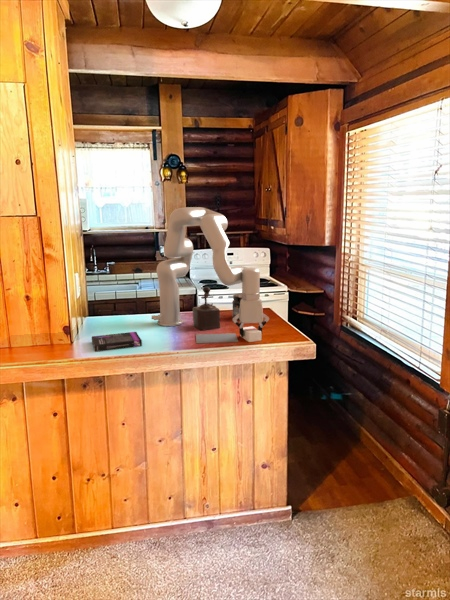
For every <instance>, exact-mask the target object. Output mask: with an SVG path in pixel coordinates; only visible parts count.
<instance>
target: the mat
mask: <svg viewBox="0 0 450 600" xmlns="http://www.w3.org/2000/svg"><path fill="white" fill-rule="evenodd" d="M195 340H196V341H195V342H196V344H197V345H198V344H201V345H202V344H224V343H225V344H227V343H228V344H230V343H239V340H238V337H237V334H236V332H233V333H231V332H229V333H228V332H227V333H206V334H205V333H204V334H203V333H202V334H199V333H198V334H195Z"/></svg>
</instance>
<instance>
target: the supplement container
mask: <svg viewBox="0 0 450 600" xmlns="http://www.w3.org/2000/svg"><path fill="white" fill-rule="evenodd" d="M239 294H240V293H236V294H233V297H232V298H233V300H232V303H231V304H232V315H231V316H232V319H233V318H234V317H235V316H236V315H238V314H239V309H240V301H241V299H242V298H241V297H239ZM237 321H240V320H239V318H238V319H237Z"/></svg>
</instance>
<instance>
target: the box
mask: <svg viewBox="0 0 450 600" xmlns="http://www.w3.org/2000/svg"><path fill="white" fill-rule="evenodd" d="M142 342H143V340H142V338H141V337H140V335H139V334H138V332H137V331H130V332H129V331H127V332H120V333H110V334H103V335H101V334H100V335H92V336H91V343H92V346H93V350H94V352H95V353H96V352H103V351H112V350H120V349H128V348H137V347H142V346H143V343H142Z"/></svg>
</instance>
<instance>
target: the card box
mask: <svg viewBox="0 0 450 600" xmlns="http://www.w3.org/2000/svg"><path fill="white" fill-rule="evenodd" d="M262 334H263V331H262V332H261V331H260V330H258V328H256V327H255V326H253V325H251V326H245V327H244V326H243V337H241V335H240V334H239V335H240V337H241V338H242V339H244V340H245V341H246V342H247V343H251V342H252V343H253V342H260V341H262V336H263V335H262Z"/></svg>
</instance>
